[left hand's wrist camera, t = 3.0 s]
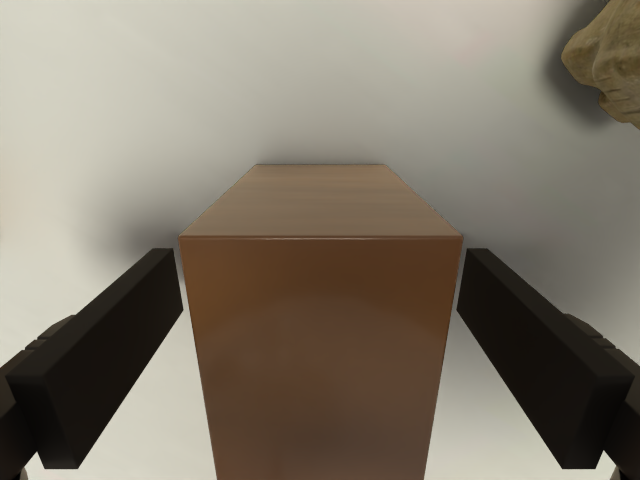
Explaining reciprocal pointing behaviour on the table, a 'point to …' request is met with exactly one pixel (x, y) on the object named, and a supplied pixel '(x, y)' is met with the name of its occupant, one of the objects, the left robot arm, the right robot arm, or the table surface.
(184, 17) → the table surface
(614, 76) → the sculpture
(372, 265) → the bar
